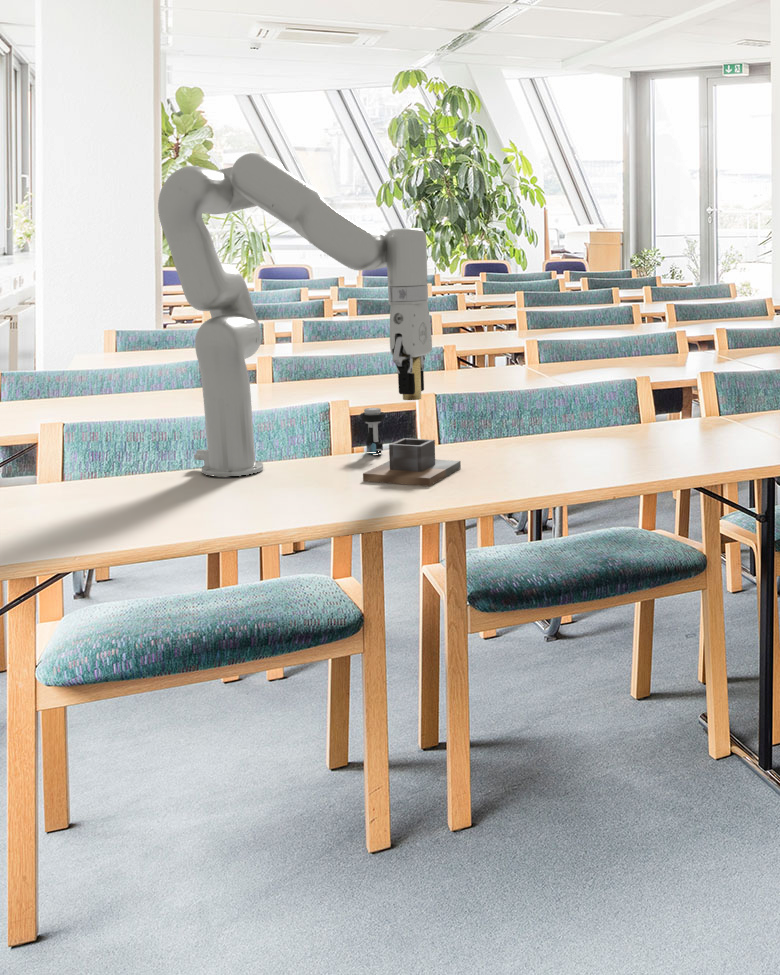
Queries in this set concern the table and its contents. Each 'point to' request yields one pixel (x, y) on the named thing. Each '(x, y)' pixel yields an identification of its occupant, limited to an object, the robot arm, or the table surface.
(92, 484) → the table surface
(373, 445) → the push button
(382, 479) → the base with square socket
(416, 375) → the hinge pin
